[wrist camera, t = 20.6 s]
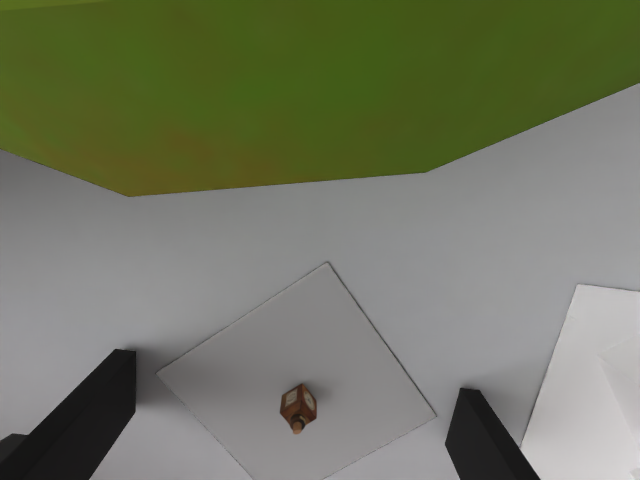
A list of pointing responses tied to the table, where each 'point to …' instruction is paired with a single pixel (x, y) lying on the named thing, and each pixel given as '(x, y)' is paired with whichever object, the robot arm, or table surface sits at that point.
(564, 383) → the napkin holder
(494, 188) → the table surface
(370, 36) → the apple
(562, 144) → the table surface
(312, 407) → the square knobbed cover
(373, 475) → the table surface
